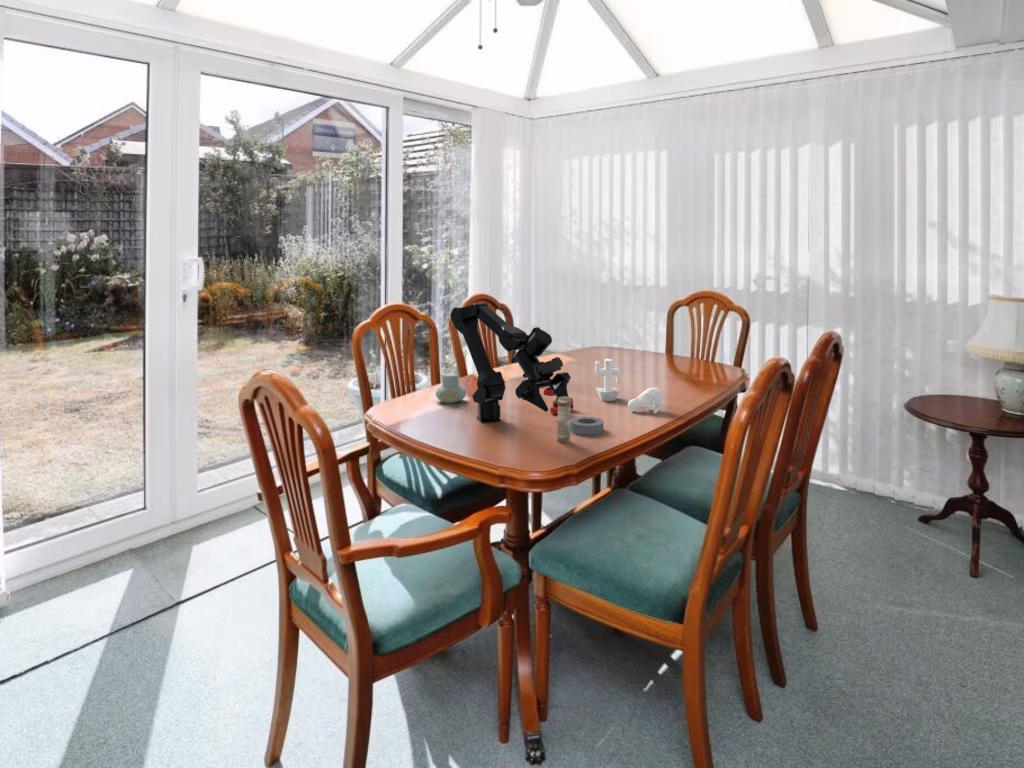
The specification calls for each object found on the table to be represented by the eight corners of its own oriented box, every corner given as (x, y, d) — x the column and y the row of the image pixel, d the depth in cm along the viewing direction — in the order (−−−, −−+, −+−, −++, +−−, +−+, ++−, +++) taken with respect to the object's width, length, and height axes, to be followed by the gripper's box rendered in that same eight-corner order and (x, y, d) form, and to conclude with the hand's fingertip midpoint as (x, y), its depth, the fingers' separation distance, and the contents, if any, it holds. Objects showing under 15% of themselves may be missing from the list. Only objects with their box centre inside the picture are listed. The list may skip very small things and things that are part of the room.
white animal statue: (663, 389, 214) (629, 392, 214) (664, 413, 216) (630, 416, 216) (658, 385, 220) (625, 388, 220) (660, 408, 222) (626, 412, 222)
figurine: (622, 401, 233) (623, 360, 230) (596, 402, 232) (597, 361, 229) (617, 396, 240) (618, 357, 237) (592, 397, 239) (593, 357, 236)
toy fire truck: (574, 409, 222) (575, 382, 220) (551, 418, 212) (551, 389, 209) (566, 408, 224) (566, 381, 222) (543, 416, 214) (543, 388, 212)
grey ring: (578, 436, 191) (578, 426, 191) (565, 427, 200) (565, 418, 200) (608, 433, 194) (609, 423, 194) (594, 424, 204) (594, 415, 203)
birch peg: (560, 444, 184) (560, 400, 181) (554, 440, 188) (555, 396, 185) (572, 442, 185) (573, 398, 183) (567, 438, 189) (567, 395, 186)
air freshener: (434, 404, 230) (433, 377, 228) (437, 398, 238) (436, 372, 236) (465, 404, 230) (464, 376, 228) (466, 398, 238) (466, 372, 236)
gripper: (522, 352, 180) (550, 397, 175) (566, 345, 193) (594, 386, 187) (503, 376, 187) (530, 420, 182) (547, 367, 200) (573, 408, 194)
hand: (558, 408), depth 186 cm, fingers open, 9 cm apart
